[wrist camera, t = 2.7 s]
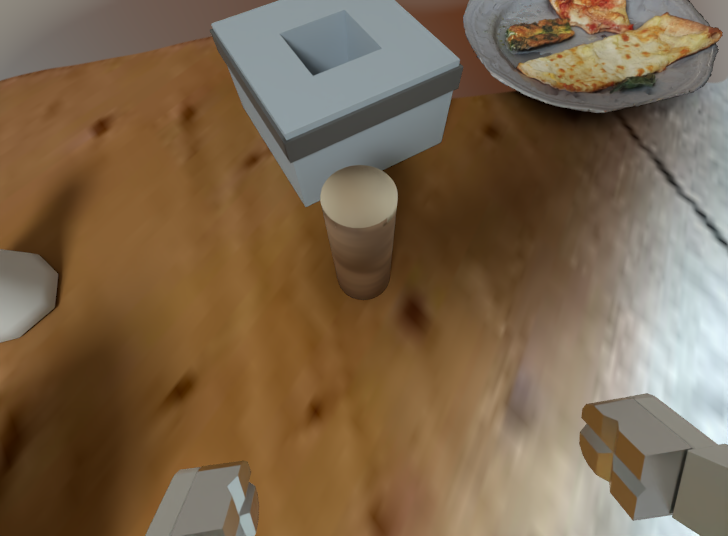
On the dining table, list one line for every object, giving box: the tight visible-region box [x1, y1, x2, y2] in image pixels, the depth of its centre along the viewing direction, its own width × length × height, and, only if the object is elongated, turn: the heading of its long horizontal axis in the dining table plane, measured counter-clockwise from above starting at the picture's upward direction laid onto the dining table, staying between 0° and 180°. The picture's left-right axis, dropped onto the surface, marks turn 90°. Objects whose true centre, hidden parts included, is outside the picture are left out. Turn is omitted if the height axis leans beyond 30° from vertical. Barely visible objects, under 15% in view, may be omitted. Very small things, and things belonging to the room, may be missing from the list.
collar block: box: [210, 0, 463, 207], centre depth 31 cm, size 14×14×8 cm
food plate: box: [463, 0, 722, 113], centre depth 38 cm, size 25×23×4 cm
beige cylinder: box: [320, 165, 398, 300], centre depth 23 cm, size 4×4×10 cm
